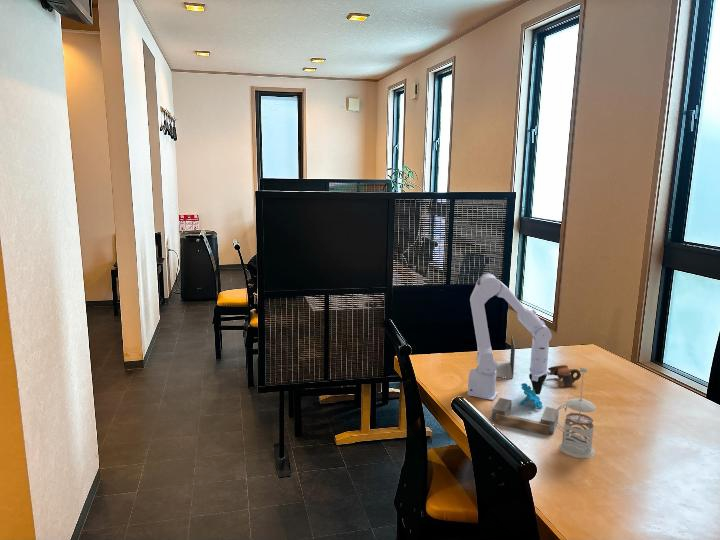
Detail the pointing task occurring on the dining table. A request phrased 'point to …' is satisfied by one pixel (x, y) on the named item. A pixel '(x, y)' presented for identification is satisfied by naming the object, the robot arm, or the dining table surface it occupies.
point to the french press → (576, 443)
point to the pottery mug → (565, 375)
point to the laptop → (506, 365)
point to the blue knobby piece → (531, 396)
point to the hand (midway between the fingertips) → (536, 393)
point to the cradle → (503, 418)
